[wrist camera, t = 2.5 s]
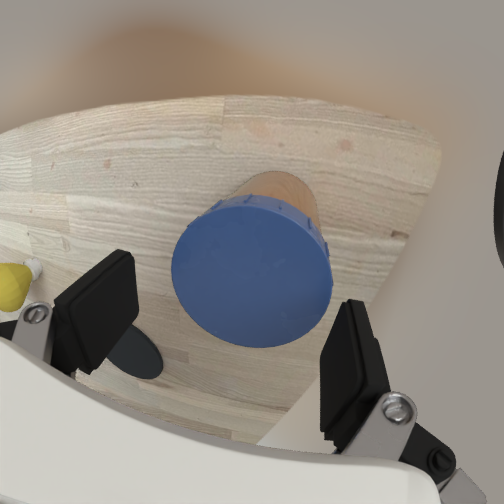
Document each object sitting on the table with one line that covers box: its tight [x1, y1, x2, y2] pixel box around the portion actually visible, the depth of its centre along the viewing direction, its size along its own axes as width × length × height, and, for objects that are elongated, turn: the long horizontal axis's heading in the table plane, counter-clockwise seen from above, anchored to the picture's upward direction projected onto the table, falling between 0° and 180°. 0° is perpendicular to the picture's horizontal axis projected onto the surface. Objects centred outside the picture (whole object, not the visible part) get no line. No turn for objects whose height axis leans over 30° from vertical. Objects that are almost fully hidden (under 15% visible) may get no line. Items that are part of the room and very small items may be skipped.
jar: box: [227, 171, 322, 235], centre depth 16 cm, size 7×7×11 cm
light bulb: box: [0, 258, 42, 312], centre depth 26 cm, size 7×7×10 cm
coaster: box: [107, 325, 163, 379], centre depth 32 cm, size 11×11×1 cm
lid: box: [171, 193, 333, 348], centre depth 12 cm, size 7×7×2 cm
